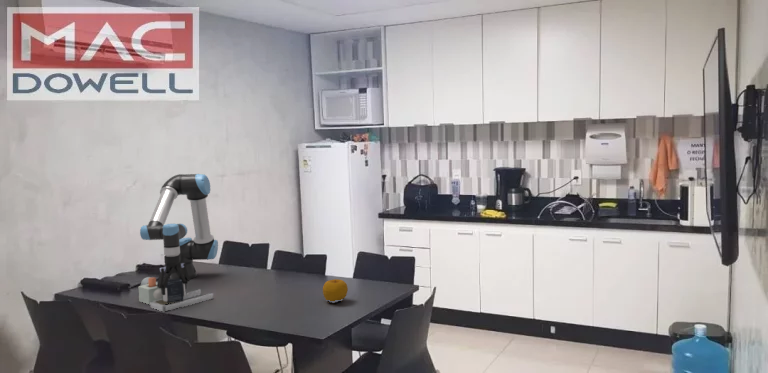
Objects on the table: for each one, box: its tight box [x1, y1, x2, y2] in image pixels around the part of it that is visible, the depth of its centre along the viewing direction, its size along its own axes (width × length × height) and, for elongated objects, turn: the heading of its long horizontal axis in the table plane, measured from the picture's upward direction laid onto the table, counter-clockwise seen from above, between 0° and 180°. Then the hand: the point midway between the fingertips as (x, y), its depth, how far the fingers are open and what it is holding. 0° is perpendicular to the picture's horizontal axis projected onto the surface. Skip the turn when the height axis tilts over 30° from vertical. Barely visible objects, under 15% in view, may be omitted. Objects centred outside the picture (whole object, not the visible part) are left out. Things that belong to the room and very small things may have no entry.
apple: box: [322, 278, 349, 301], centre depth 293 cm, size 13×13×11 cm
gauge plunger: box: [148, 276, 157, 287], centre depth 300 cm, size 4×4×7 cm
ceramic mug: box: [140, 276, 151, 286], centre depth 318 cm, size 11×8×8 cm
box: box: [166, 278, 183, 304], centre depth 292 cm, size 8×6×11 cm
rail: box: [149, 288, 214, 313], centre depth 296 cm, size 28×12×3 cm, turn 141°
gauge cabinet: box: [137, 281, 163, 306], centre depth 300 cm, size 10×10×8 cm
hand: (174, 298), depth 292 cm, fingers closed on box, 9 cm apart
